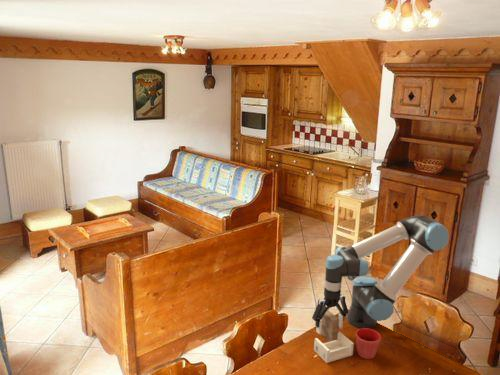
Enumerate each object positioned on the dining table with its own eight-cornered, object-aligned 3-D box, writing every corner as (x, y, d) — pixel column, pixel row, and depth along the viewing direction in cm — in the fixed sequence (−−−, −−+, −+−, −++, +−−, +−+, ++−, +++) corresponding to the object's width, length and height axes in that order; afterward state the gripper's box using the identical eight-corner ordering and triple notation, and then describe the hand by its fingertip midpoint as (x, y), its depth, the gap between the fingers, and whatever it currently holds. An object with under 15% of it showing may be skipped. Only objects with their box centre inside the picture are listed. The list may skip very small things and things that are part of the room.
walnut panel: (320, 333, 211) (321, 311, 208) (326, 332, 212) (328, 310, 209) (331, 343, 203) (333, 320, 200) (337, 342, 204) (339, 319, 201)
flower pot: (379, 362, 190) (382, 343, 188) (354, 359, 192) (356, 339, 190) (377, 348, 200) (380, 329, 198) (353, 345, 202) (355, 326, 200)
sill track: (339, 343, 203) (340, 331, 202) (352, 355, 195) (353, 343, 193) (313, 350, 198) (314, 338, 196) (326, 363, 189) (327, 350, 187)
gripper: (348, 280, 209) (344, 320, 215) (306, 289, 199) (303, 331, 205) (358, 287, 203) (354, 328, 208) (315, 296, 193) (312, 339, 198)
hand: (329, 329), depth 206 cm, fingers open, 12 cm apart
